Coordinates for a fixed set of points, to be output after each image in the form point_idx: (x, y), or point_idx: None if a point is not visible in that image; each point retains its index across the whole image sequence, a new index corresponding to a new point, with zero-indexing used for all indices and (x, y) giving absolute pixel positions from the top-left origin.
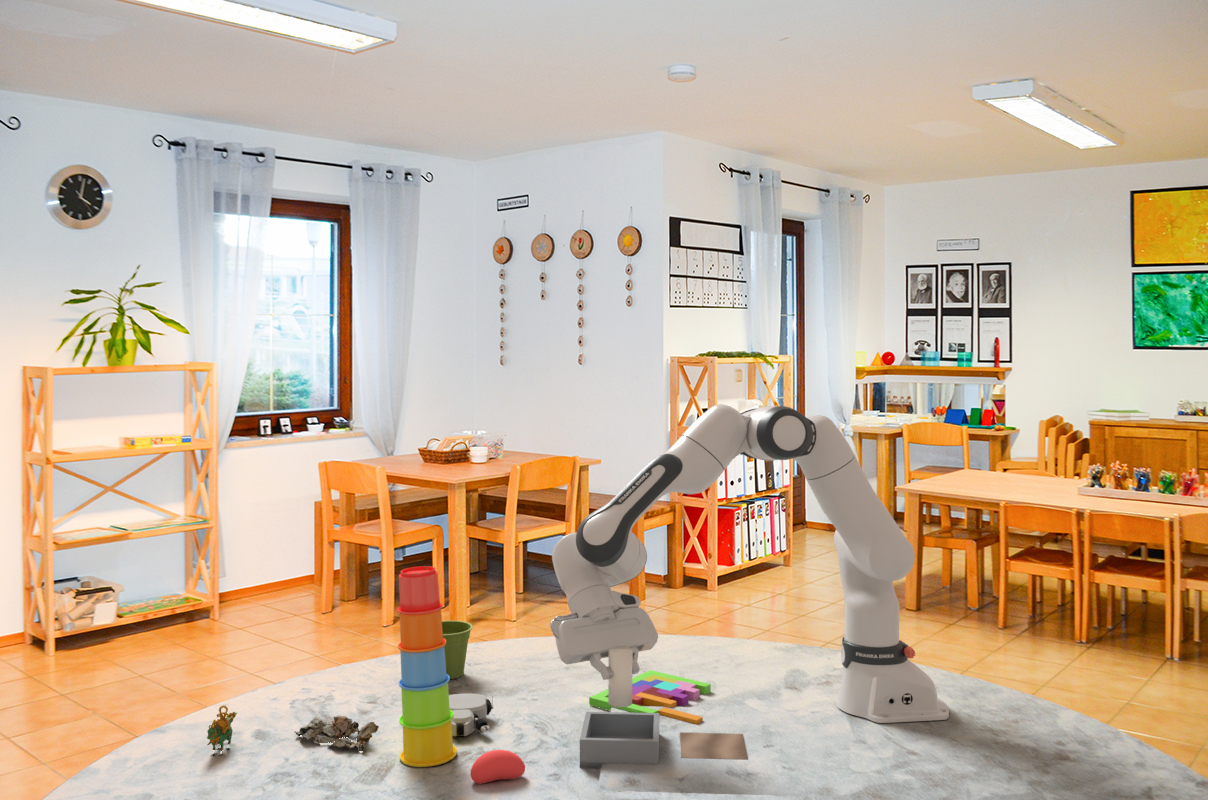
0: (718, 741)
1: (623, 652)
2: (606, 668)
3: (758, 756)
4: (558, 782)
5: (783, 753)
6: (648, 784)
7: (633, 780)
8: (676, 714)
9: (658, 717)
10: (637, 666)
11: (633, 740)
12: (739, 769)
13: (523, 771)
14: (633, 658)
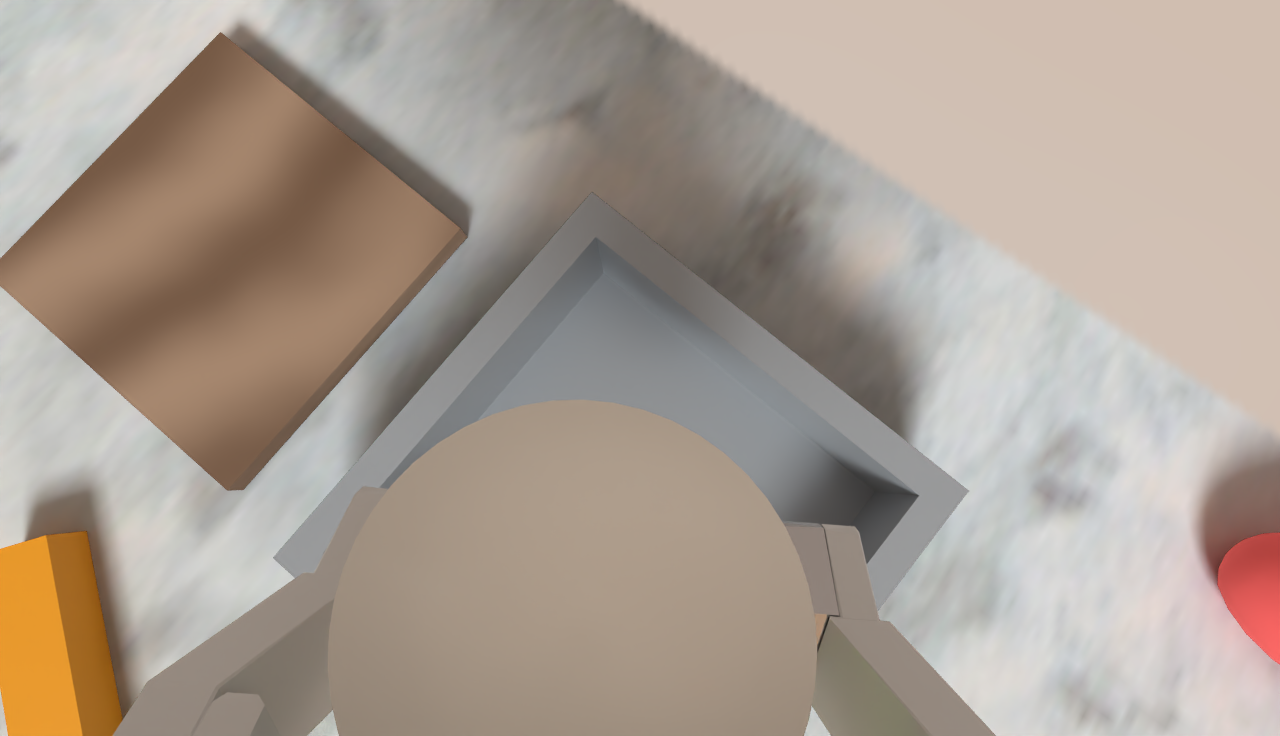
0: (163, 272)
1: (654, 431)
2: (837, 596)
3: (123, 88)
4: (1082, 404)
5: (8, 47)
6: (740, 149)
7: (771, 219)
8: (63, 689)
9: (329, 498)
10: (370, 512)
11: (700, 289)
12: (303, 37)
13: (1248, 539)
14: (308, 647)
